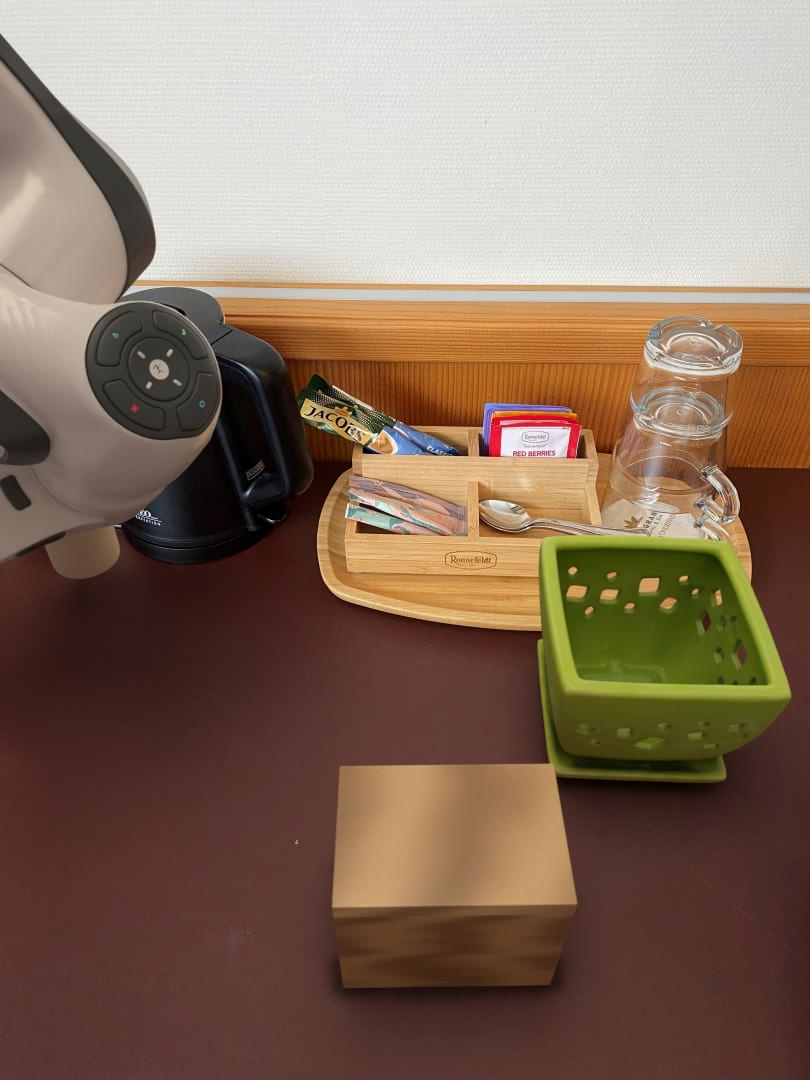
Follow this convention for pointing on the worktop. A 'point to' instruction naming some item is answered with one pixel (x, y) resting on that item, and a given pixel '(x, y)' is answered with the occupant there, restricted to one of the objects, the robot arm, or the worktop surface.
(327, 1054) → the worktop surface
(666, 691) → the flower pot
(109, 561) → the candle
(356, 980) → the wooden crate-shaped block
